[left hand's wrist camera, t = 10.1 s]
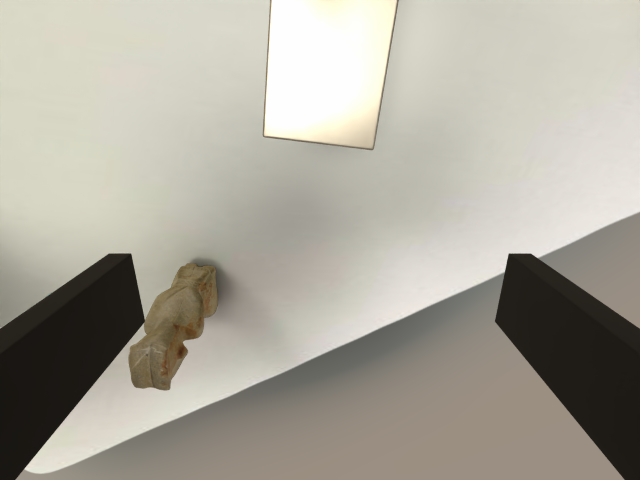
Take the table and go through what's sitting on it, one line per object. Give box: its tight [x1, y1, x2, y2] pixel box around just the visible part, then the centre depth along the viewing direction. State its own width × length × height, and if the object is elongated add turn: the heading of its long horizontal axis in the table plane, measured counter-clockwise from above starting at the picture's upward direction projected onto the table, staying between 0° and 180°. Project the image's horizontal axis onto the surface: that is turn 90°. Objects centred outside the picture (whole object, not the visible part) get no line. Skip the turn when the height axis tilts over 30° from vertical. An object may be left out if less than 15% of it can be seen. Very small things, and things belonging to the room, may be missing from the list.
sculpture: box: [129, 263, 218, 390], centre depth 37 cm, size 6×7×15 cm
